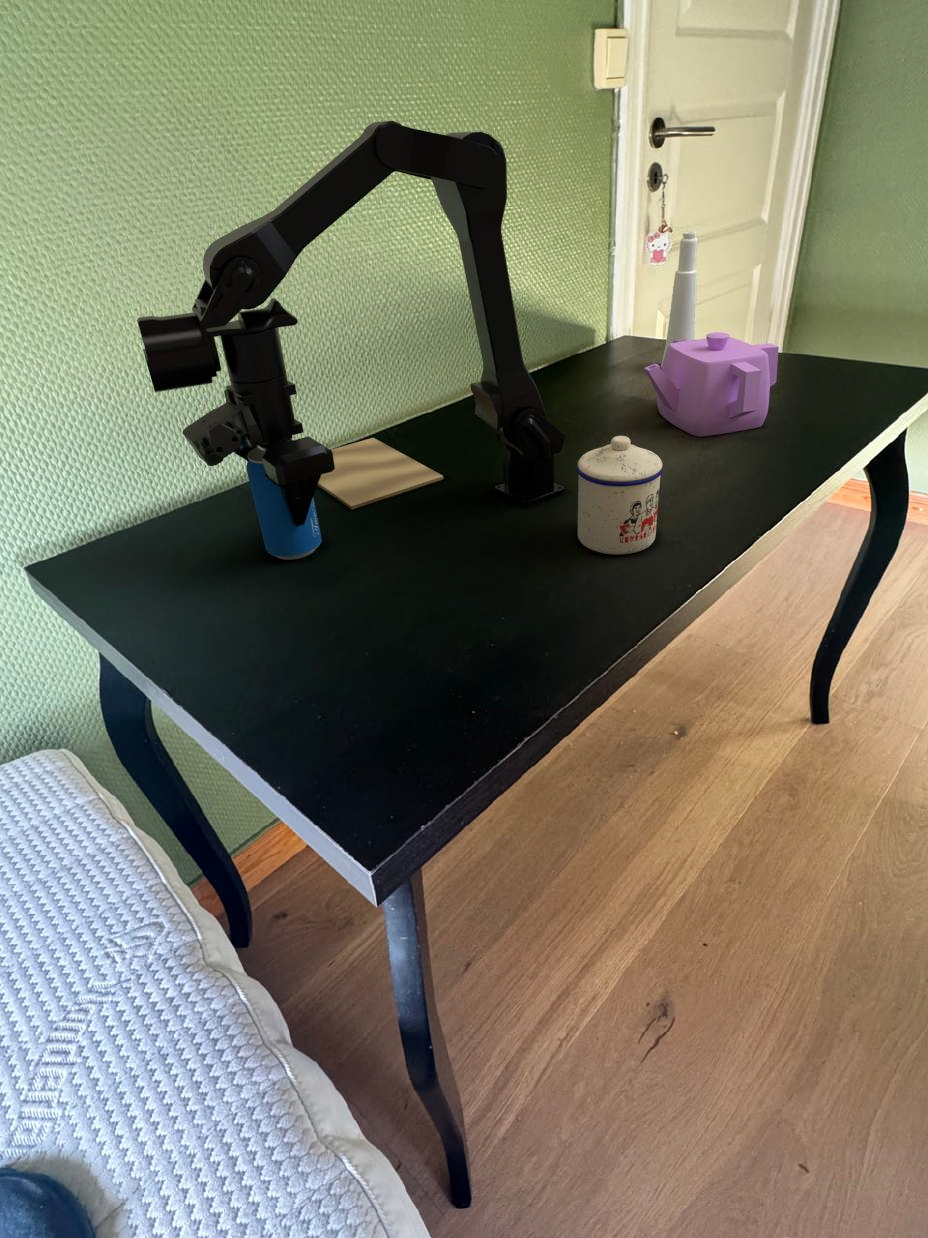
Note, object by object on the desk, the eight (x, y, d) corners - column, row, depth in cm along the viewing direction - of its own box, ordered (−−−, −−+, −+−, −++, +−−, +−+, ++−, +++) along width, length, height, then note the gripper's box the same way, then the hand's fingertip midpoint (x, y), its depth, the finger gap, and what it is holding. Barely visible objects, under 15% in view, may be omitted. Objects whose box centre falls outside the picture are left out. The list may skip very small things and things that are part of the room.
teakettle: (753, 444, 106) (766, 353, 99) (635, 430, 113) (640, 344, 106) (778, 406, 118) (792, 322, 111) (670, 395, 125) (676, 316, 118)
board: (443, 479, 103) (443, 475, 103) (351, 509, 97) (351, 506, 97) (373, 440, 117) (373, 437, 117) (289, 465, 111) (288, 461, 111)
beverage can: (310, 564, 86) (290, 463, 79) (257, 561, 87) (233, 462, 80) (330, 537, 91) (312, 440, 84) (280, 535, 92) (258, 440, 86)
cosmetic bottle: (701, 365, 138) (716, 230, 125) (682, 374, 134) (695, 235, 122) (673, 360, 141) (684, 228, 129) (653, 368, 138) (663, 233, 126)
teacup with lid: (629, 565, 81) (635, 461, 74) (559, 542, 86) (559, 443, 80) (685, 523, 88) (695, 424, 81) (617, 504, 93) (622, 410, 87)
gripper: (154, 373, 81) (191, 507, 89) (210, 415, 68) (248, 568, 76) (253, 352, 86) (279, 481, 94) (324, 388, 73) (347, 534, 81)
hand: (286, 513), depth 86 cm, fingers closed on beverage can, 7 cm apart
